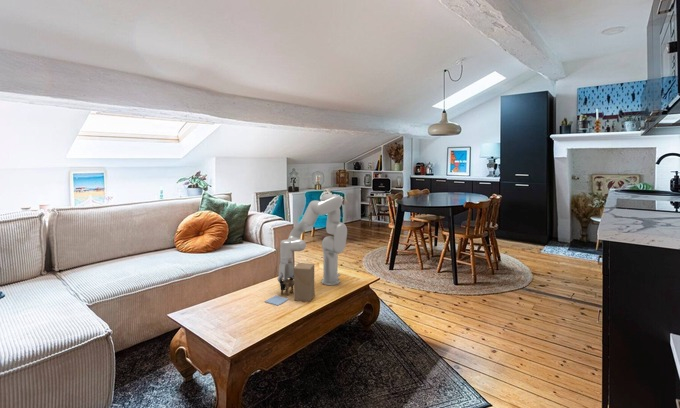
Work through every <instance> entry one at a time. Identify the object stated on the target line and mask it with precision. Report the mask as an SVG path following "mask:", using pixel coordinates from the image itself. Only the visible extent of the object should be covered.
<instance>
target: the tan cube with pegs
mask: <svg viewBox="0 0 680 408" xmlns="http://www.w3.org/2000/svg"><path fill="white" fill-rule="evenodd" d="M284 284H285V293H286V296H287V297H289V296H290V294H294V280H290V279H289V278H288V279H286V280H285V283H284ZM289 288H290V289H289ZM280 294H281V295H284V290H281V289H280Z"/></svg>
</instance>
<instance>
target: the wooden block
mask: <svg viewBox="0 0 680 408" xmlns="http://www.w3.org/2000/svg"><path fill="white" fill-rule="evenodd" d="M314 296H316V295H315V264H314V263H306V262H305V263H304V262H299V263H297V264H296V265H295V266H294V285H293V300H294V301H297V302H298V301H301V302H311V301H312V299H313V298H314Z"/></svg>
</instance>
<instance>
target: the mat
mask: <svg viewBox="0 0 680 408" xmlns="http://www.w3.org/2000/svg"><path fill="white" fill-rule="evenodd" d="M289 300H290V299H289V298H288V297H283V296H280V295H273V296H272V297H270V298H268V299H266V300H264V303H266V304H270V305H273V306H277V307H278V306H280V305H283V304H284V303H286V302H287V301H289Z"/></svg>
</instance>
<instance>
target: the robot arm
mask: <svg viewBox="0 0 680 408" xmlns="http://www.w3.org/2000/svg"><path fill="white" fill-rule="evenodd" d="M342 205H343V199H342V197H341V196H340V195H337V194H332V193H325V194H323V195H322V196H321V198H320V200H311V201H310V202H309V203H308V206H307V207H306V209H305V212H304V214H303V216H302V218H301V220H300V221H299V222H298V223H297V224H296V225H295V226H294V227H293V228H292V229H291V231H290V233H289V235H288V238H287V239H283V240H282V239H281V240H280V243H279V249H280V251H279V256H280V263H279V264H278V265H279V266H278V277H277V281H278V283H279V287H280V291H281V290H283V291H286V289H285V284H284V283H285V280H286V279H290V280H294V267H295V266H294V256H293V255H294V254H293V252H302V251H304V250H305V249H306V248H307V243H306V241H305V240H303V239H301V238H300V237H301V235H302V234H303V233H304V232H305V231H307V230H310V229H312V228H313V227H314V226H315V223H316V221H317V219H318V218H319V216H325V215H327V216H326V217H327V219H326V226H325V229H326V230H325V231H326V233H327V234H329V235H328V236H327V235H326V236H325V237H324V238H323V239H322V242H321V247H322V252H323V253H322V254H323V256H322V257H323V261H322V263H323V270H322V271H323V278H322V279H321V281H320V282H321V284H323V285H324V286H337V285H339V284H340V283H341V280H340V279H339V277H340V276H341V274H340V272H339V273H338V270H339V268H338V262H339V261H338V260H339V258H338V254H342V253H343V252H345V249H346V243H347V238H348V237H347V236H348V228H347V226H346V224H345V223H343V222H341V209H340V208H341V206H342Z"/></svg>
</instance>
